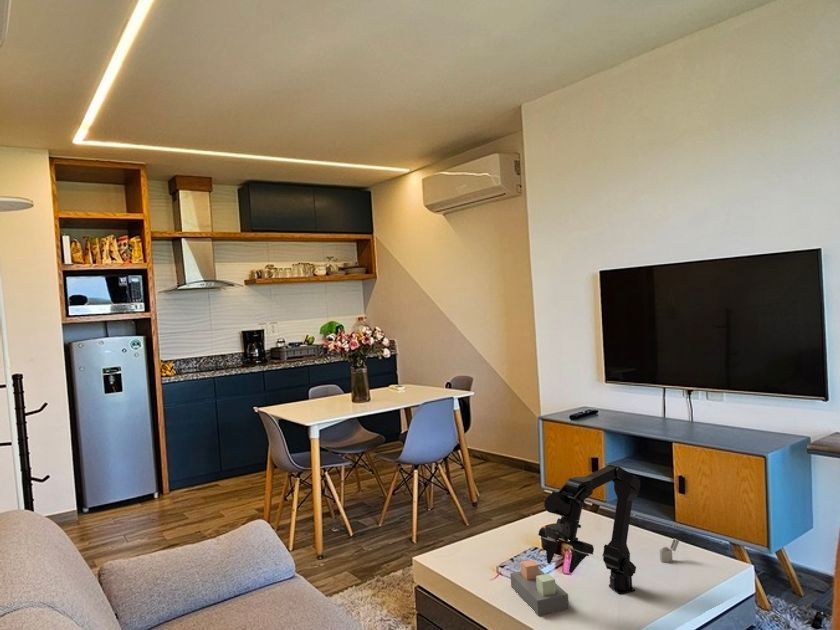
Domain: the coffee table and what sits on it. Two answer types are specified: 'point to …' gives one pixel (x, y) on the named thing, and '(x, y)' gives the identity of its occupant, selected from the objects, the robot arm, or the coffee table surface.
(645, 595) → the coffee table surface
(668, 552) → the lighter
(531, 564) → the terracotta key
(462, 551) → the coffee table surface
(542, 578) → the sage key
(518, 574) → the keypad
